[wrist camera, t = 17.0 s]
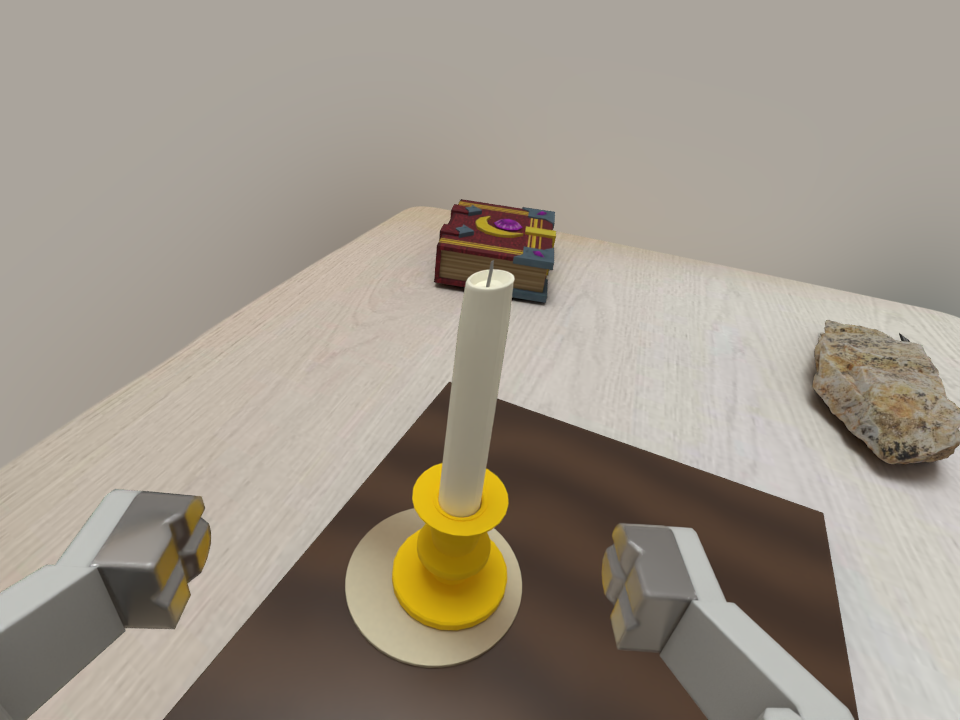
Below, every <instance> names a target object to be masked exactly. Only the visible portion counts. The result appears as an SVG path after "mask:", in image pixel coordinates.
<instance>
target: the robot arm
mask: <svg viewBox="0 0 960 720" xmlns="http://www.w3.org/2000/svg"><path fill="white" fill-rule="evenodd" d="M204 510H205V506H204V503H203V500H202V497H201V496H192V495H181V494H170V493H159V492H149V491H136V490H123V489H114V490H113V491H111V492H110V493H108V494H107V495H106V496H105V497H104V498H103V500H102V501H101V503H100V504H99V505H98V507H97V508H96V509H95V511H94V512H93V513H92V515H91V516H90V518H89V519H88V520H87V522H86V523H85V524H84V526H83V527H82V529H81V530H80V531H79V533H78V534H77V535H76V537H75V538H74V539H73V541H72V542H71V544H70V545H69V546H68V548H67V549H66V550H65V552H64V553H63V555H62V556H61V557H60V559H59V560H58V561H57V563H56V564H55V565H45V566H43V567H41V568H40V569H38V570H36V571H35V572H33V573H31V574H30V575H28V576H27V577H25V578H23V579H22V580H20V581H18V582H17V583H15V584H13V585H12V586H10V587H9V588H7V589H5V590H4V591H2V592H0V720H27V719H28V718H29V717H30V716H31V715H32V714H33V713H34V712H35V711H37V710H38V709H39V708H40V707H41V706H42V705H43V704H44V703H46V702H47V701H48V700H49V699H50V698H51V697H52V696H53V695H54V694H56V693H57V692H58V691H59V690H60V689H61V688H62V687H63V686H65V685H66V684H67V683H68V682H69V681H70V680H71V679H72V678H74V677H75V676H76V675H77V674H78V673H79V672H80V671H81V670H82V669H84V668H85V667H86V666H87V665H88V664H89V663H90V662H91V661H93V660H94V659H95V658H96V657H97V656H98V655H99V654H100V653H101V652H103V651H104V650H105V649H106V648H107V647H108V646H109V645H110V644H112V643H113V642H114V641H115V640H116V639H117V638H118V637H119V636H120V635H122V634H123V633H124V632H125V628H147V629H175V628H176V625H177V623H178V621H179V619H180V617H181V615H182V613H183V610H184V608H185V606H186V604H187V602H188V600H189V598H190V596H191V594H190V591H189V587H188V584H187V583H189V582H190V581H191V580H192V579H194V578H195V577H196V576H198V575H199V574H200V573H201V572H202V569H203V567H204V565H205V563H206V560H207V557H208V553H209V549H210V545H211V530H210V526H209V523H208V522H206V521H205V520H204V519H203V518H201V516H202V514H203V512H204ZM612 537H613V541H614V544H613V545H611V546H610V547H608V548H607V549H606V551H605V554H604V557H603V561H602V583H603V588H604V593H605V596H606V597H607V598H608V599H609V600H610V601H611V603H612V604H613V605H614V606H615V607H614V609H613V611H612V613H611V616H610V619H611V623H612V628H613V632H614V636H615V640H616V645H617V649H618V650H626V651H639V652H653V653H660V655H659V656H660V657H661V658H662V659H663V661H664V662H665V663H666V665H667V666H668V667H669V669H670V670H671V671H672V673H673V674H674V675H675V677H676V678H677V679H678V681H679V682H680V683H681V685H682V686H683V687H684V688H685V690H686V691H687V692H688V694H689V695H690V696H691V698H692V699H693V700H694V702H695V703H696V704H697V706H698V707H699V708H700V710H701V711H702V712H703V714H704V715H705V716H706V717H707V719H708V720H854V718H853V716H852V714H851V713H850V711H849V709H848V708H847V707H846V706H845V705H844V704H843V703H842V702H840V701H839V700H838V699H837V698H836V697H835V696H834V695H833V694H832V693H831V692H830V691H829V690H828V689H826V688H825V687H824V686H823V685H822V684H821V683H820V682H819V681H818V680H817V679H816V678H815V677H813V676H812V675H811V674H810V673H809V672H808V671H807V670H806V669H805V668H804V667H803V666H802V665H801V664H799V663H798V662H797V661H796V660H795V659H794V658H793V657H792V656H791V655H790V654H789V653H788V652H786V651H785V650H784V649H783V648H782V647H781V646H780V645H779V644H778V643H777V642H776V641H775V640H774V639H772V638H771V637H770V636H769V635H768V634H767V633H766V632H765V631H764V630H763V629H762V628H761V627H759V626H758V625H757V624H756V623H755V622H754V621H753V620H752V619H751V618H750V617H749V616H748V615H747V614H745V613H744V612H743V611H742V610H741V609H740V608H739V607H738V606H737V605H736V604H735V603H730V602H726V600H725V597H724V595H723V593H722V590H721V588H720V586H719V583H718V581H717V579H716V577H715V574H714V572H713V570H712V567H711V565H710V563H709V560H708V558H707V556H706V554H705V551H704V549H703V547H702V544H701V542H700V540H699V537H698V535H697V533H696V532H695V531H694V530H693V529H692V528H685V527H669V526H667V527H666V526H662V525H643V524H624V523H619V524H618V525H617V526H616V527H615V529H614V531H613V534H612Z"/></svg>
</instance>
